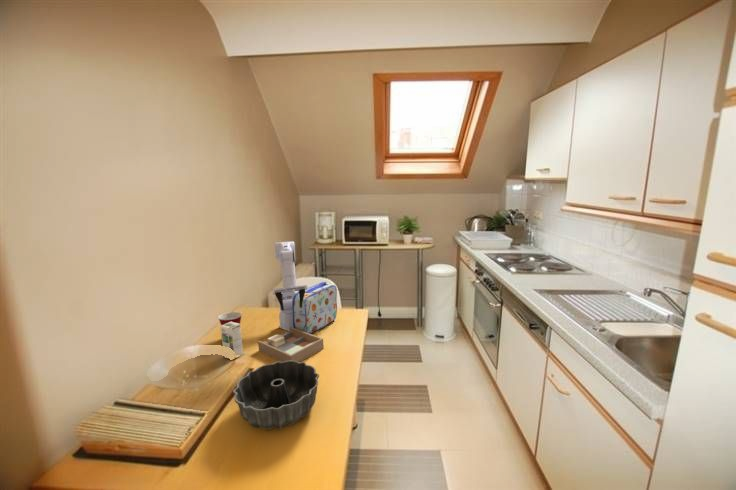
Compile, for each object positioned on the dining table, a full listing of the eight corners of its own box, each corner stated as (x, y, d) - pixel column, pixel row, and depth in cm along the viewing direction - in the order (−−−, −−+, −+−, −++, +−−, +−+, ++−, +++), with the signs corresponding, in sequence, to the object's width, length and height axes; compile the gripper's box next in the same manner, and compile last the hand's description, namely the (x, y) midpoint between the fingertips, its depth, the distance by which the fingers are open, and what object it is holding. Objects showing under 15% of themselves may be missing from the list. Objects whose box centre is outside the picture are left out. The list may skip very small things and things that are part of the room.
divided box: (258, 350, 147) (257, 341, 146) (291, 335, 161) (290, 326, 160) (291, 366, 133) (290, 356, 132) (323, 348, 147) (323, 338, 146)
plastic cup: (248, 333, 164) (245, 310, 162) (239, 343, 154) (236, 319, 152) (226, 333, 165) (223, 310, 162) (216, 343, 154) (213, 319, 152)
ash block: (268, 344, 147) (267, 338, 146) (277, 340, 151) (277, 334, 150) (275, 347, 144) (274, 341, 143) (284, 343, 148) (284, 337, 147)
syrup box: (223, 358, 141) (219, 326, 139) (234, 351, 147) (231, 320, 144) (232, 361, 139) (229, 328, 136) (243, 354, 144) (240, 322, 141)
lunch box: (325, 314, 185) (323, 276, 180) (341, 318, 179) (339, 278, 175) (291, 334, 161) (287, 291, 157) (307, 339, 156) (304, 294, 152)
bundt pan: (218, 436, 97) (215, 406, 96) (259, 383, 123) (257, 358, 121) (306, 444, 94) (303, 412, 92) (329, 387, 119) (327, 361, 117)
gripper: (270, 278, 140) (272, 310, 136) (305, 273, 142) (308, 305, 138) (273, 280, 146) (275, 311, 143) (306, 276, 148) (309, 307, 145)
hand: (292, 309), depth 141 cm, fingers open, 7 cm apart
